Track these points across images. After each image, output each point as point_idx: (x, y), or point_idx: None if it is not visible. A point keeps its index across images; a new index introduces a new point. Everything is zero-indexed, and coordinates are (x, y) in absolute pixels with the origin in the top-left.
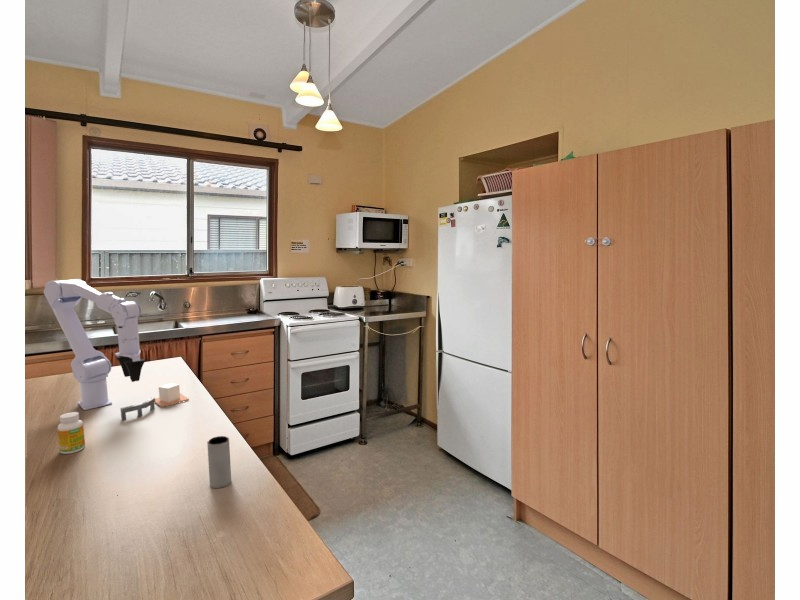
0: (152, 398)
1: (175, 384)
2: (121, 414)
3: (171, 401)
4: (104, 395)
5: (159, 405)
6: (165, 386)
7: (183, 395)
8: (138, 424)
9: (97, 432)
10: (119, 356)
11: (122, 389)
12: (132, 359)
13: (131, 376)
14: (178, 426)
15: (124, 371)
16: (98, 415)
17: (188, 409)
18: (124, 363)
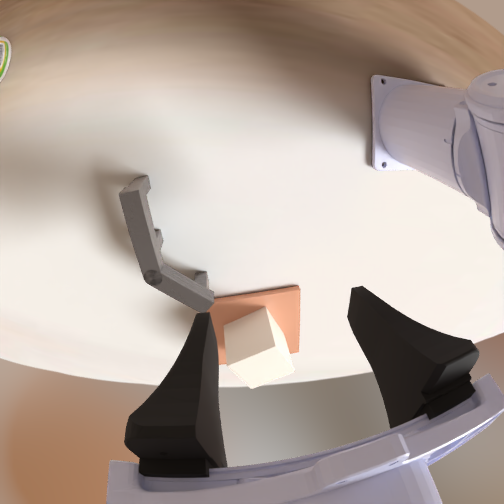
0: (200, 306)
1: (260, 382)
2: (136, 183)
3: None
4: (405, 156)
5: (220, 299)
6: (260, 361)
7: None
8: (70, 224)
9: (67, 101)
10: (465, 368)
11: (471, 224)
12: (125, 476)
13: (188, 341)
14: (27, 305)
15: (368, 310)
16: (270, 102)
17: (138, 348)
18: (189, 418)
